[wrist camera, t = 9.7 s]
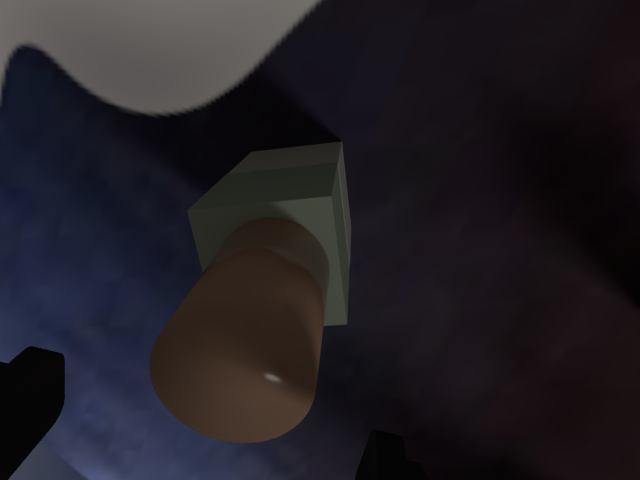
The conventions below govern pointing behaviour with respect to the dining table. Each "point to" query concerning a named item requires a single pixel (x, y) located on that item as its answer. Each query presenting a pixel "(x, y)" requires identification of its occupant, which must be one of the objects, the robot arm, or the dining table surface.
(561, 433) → the dining table surface
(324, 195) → the mid block
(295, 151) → the base block
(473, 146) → the dining table surface
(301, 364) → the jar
